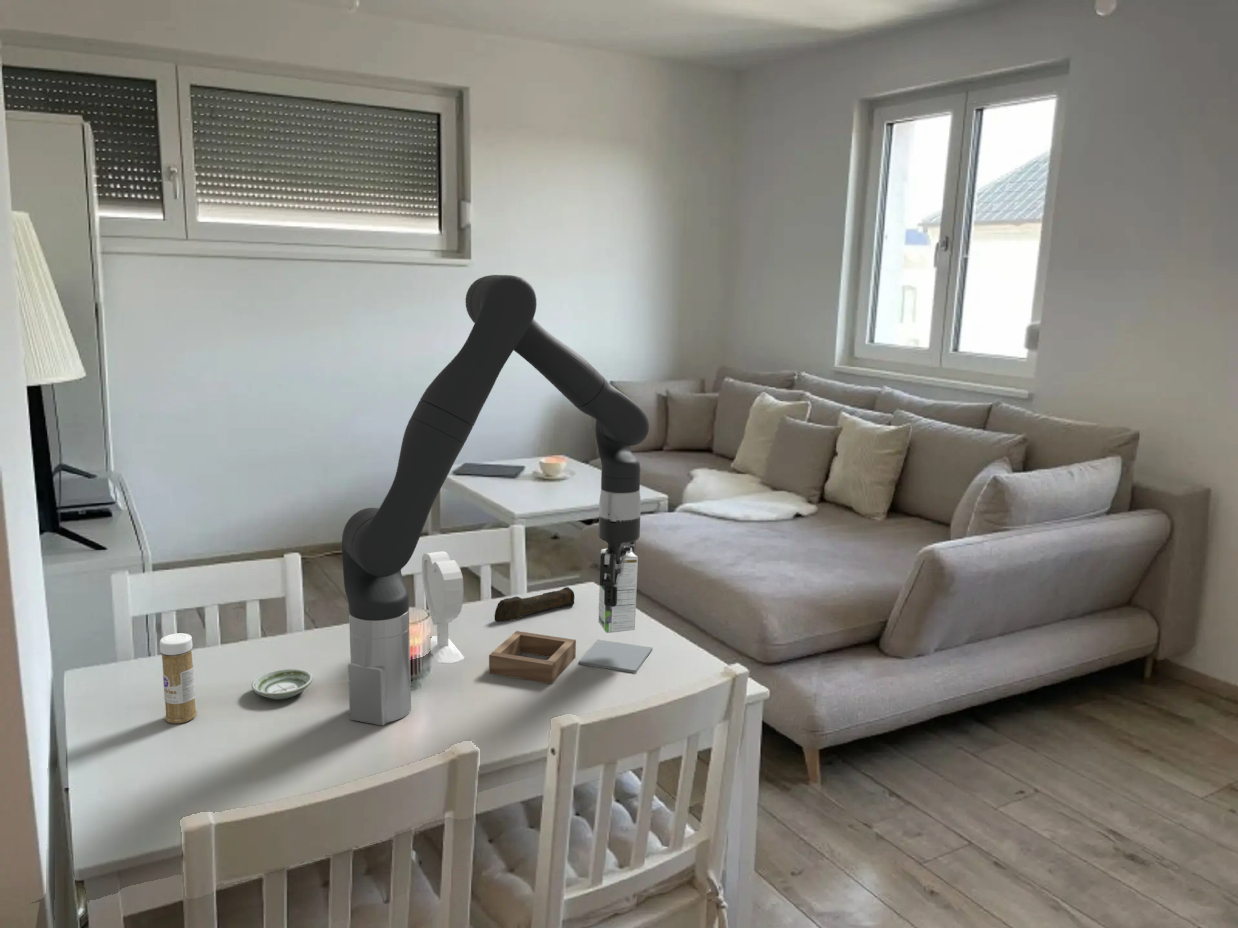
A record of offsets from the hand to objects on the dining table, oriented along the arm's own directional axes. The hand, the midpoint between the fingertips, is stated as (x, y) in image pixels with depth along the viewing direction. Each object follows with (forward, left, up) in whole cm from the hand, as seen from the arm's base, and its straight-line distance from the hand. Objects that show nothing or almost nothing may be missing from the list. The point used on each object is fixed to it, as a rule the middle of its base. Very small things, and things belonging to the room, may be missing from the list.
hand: (617, 598), depth 170 cm
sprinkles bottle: (-47, +57, -12) cm, 75 cm away
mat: (0, 0, -12) cm, 12 cm away
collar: (-9, +13, -12) cm, 20 cm away
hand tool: (+15, +23, -12) cm, 30 cm away
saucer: (-34, +48, -12) cm, 60 cm away
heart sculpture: (-8, +32, -12) cm, 35 cm away
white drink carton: (0, 0, -6) cm, 6 cm away
